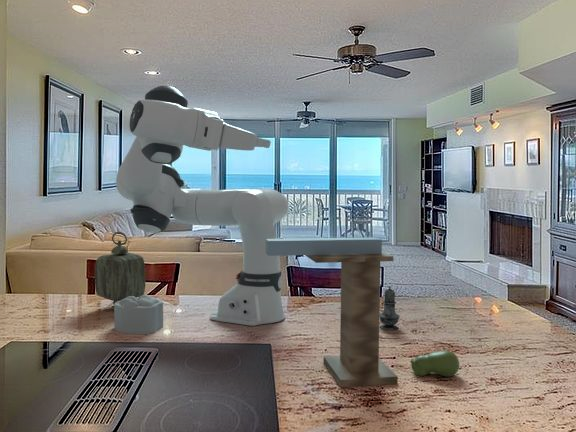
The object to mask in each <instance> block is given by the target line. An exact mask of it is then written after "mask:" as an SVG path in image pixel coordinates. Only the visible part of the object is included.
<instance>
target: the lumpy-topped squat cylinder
mask: <svg viewBox="0 0 576 432" xmlns="http://www.w3.org/2000/svg"><path fill="white" fill-rule="evenodd" d="M113 306H114V311H113V317H114V319H113V320H114V323H113V325H114V331H115V332H118V333H121V334H129V335H150V334H154V333H156V332H157V331H158V330H160V329H162V328H164V302H163V301H162V299H161V300H160V299H158V298H156V297H150V296H149V295H147V294H144V295H142V296H140V297H137V298H136V297H134V296H129V297H127V298H125V299H122V300H120V301H117V302H116V303H115V304H113Z"/></svg>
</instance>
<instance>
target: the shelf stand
mask: <svg viewBox="0 0 576 432" xmlns="http://www.w3.org/2000/svg"><path fill="white" fill-rule="evenodd" d="M304 256H305V257H307V258H308V259H310V260H311V261H313V263H316V264H322V263H324V264H325V263H327V264H329V263H340V265H341V266H340V267H341V268H340V271H341V272H340V329H339V330H340V332H339V333H340V339H339V340H340V341H339V343H340V344H339V347H340V348H339V349H340V350H339V351H340V352H339V353H340V354H339V355H328V356H327V355H325V356H323V365H324V366H325V367H326V368H327V370H328V371H329V373H330V374H331V376H332V378H333V379H334V380H335V381H336V383H337V384H338V386H339V387H340V388H351V387H353V388H354V387H367V386H368V387H369V386H384V385H396V384H398V382H399V381H398V379H399V378H398V375H397V374H396V373H395V372H393V370H392V369H391V368H390V367H389V366H387V364H385V363H384V362H383V361H382V359H380V358H379V355H380V354H379V353H380V352H379V351H380V317H379V314H380V310H381V309H380V305H381V304H380V303H381V302H380V299H381V297H380V296H381V262H394V256H393V255H392V254H389V253H386V252H383V251H382V254H339V255H304Z"/></svg>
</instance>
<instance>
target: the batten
mask: <svg viewBox="0 0 576 432" xmlns="http://www.w3.org/2000/svg"><path fill="white" fill-rule="evenodd" d="M382 247H383V240H382V239H381V238H378V237H374V236H373V237H317V238H316V237H315V238H313V237H309V238H307V237H306V238H304V237H303V238H301V237H297V238H277V239H266V254H267V255H268V256H280V257H282V256H283V257H284V256H305V255H339V254H382V252H383V248H382Z"/></svg>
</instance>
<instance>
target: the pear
mask: <svg viewBox="0 0 576 432" xmlns="http://www.w3.org/2000/svg"><path fill="white" fill-rule="evenodd" d="M409 362H410V365H411V369H412V371H413V373H414V376H418V377H424V376H426V375H429V374H430V373H433V374H437V375H440V376H443V377H453V376H454V375H456V374H457V373H458V371H459V368H460V360H459V358H458V356H457V355H456V354H455V353H454V352H453V351H450V350H436V351H432V352H429V353H428V354H419V355H417V356H416V357H414V358H413V359H411V360H410V361H409Z"/></svg>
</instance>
